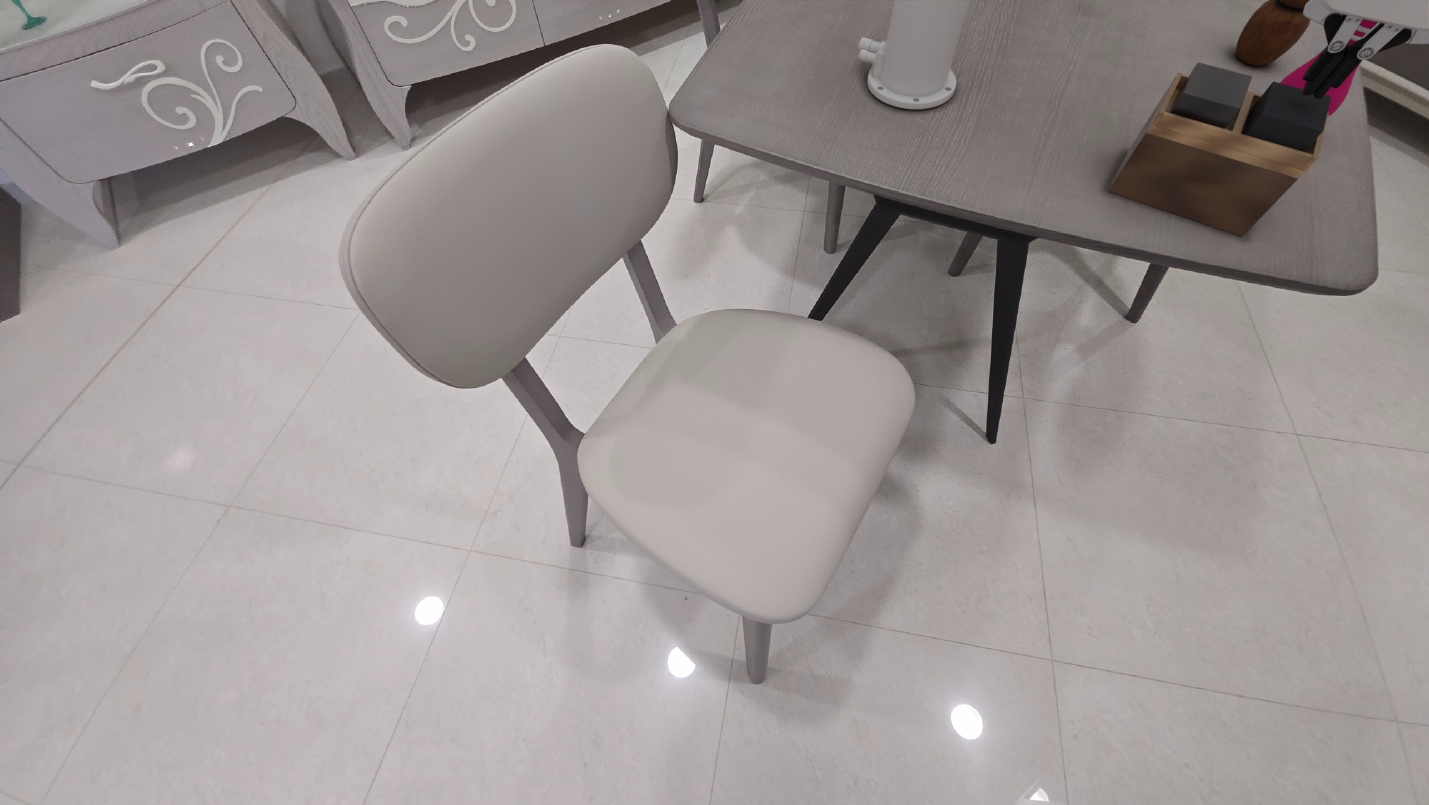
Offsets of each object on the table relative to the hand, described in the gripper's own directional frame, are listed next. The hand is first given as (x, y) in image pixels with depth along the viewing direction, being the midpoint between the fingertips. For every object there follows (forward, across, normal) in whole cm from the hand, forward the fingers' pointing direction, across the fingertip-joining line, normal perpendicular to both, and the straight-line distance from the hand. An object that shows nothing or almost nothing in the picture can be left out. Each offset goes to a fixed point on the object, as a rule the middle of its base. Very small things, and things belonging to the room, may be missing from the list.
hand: (1313, 89), depth 60 cm
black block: (+5, 0, 0) cm, 5 cm away
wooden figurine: (+14, +2, -36) cm, 39 cm away
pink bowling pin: (+14, -4, -20) cm, 25 cm away
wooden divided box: (+14, +4, 0) cm, 15 cm away
